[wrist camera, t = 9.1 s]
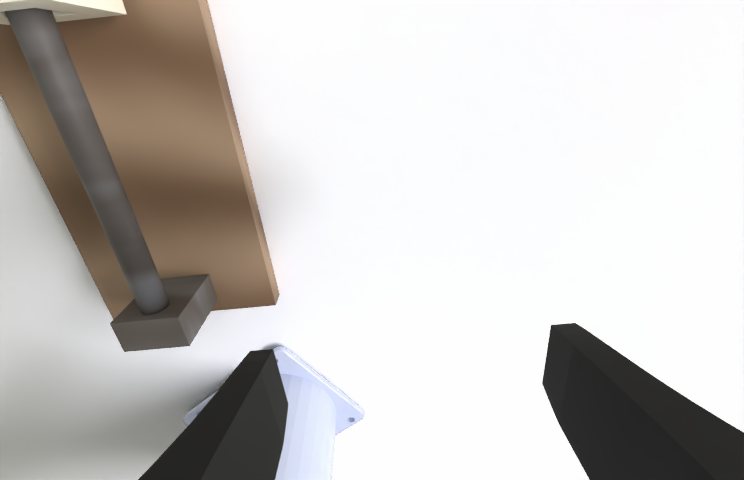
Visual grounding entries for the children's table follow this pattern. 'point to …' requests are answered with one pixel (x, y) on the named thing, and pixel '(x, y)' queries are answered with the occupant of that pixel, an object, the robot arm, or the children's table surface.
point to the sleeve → (66, 8)
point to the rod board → (142, 161)
